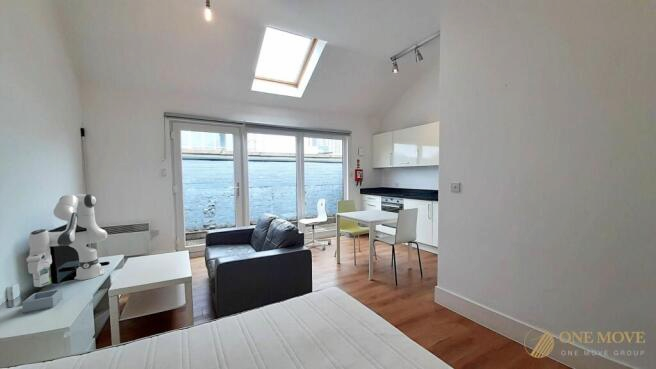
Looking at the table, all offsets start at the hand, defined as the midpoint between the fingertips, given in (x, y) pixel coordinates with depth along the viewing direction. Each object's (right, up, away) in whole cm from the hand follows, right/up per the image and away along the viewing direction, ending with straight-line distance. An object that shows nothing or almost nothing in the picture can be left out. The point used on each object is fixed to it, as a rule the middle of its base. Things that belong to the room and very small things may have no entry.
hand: (41, 275), depth 164 cm
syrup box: (0, -7, 0) cm, 7 cm away
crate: (0, -20, +1) cm, 20 cm away
